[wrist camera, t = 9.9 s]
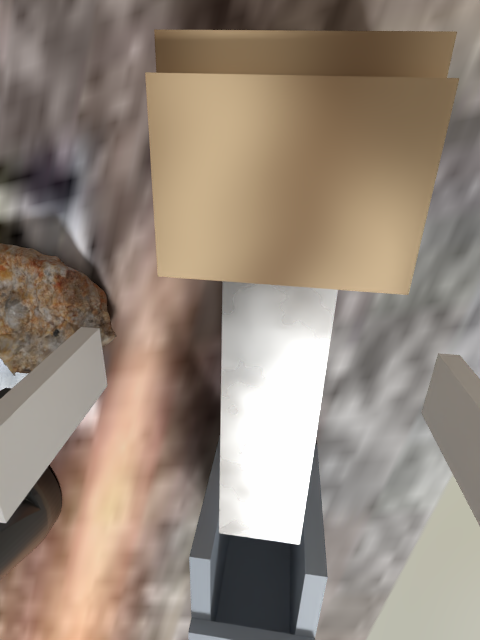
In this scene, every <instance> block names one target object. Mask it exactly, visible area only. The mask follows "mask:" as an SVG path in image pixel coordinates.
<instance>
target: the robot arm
mask: <svg viewBox="0 0 480 640" xmlns="http://www.w3.org/2000/svg"><path fill="white" fill-rule="evenodd" d="M106 387H107V380H106V372H105V365H104V358H103V350H102V343H101V336H100V328H88V327H81V328H79V329H78V330H77V331H76V332H75V333H74V334H73V335H72V336H70V337H69V338H68V339H67V340H66V341H65V342H64V343H63V344H61V345H60V346H59V347H58V348H57V349H56V350H55V351H54V352H53V353H51V354H50V355H49V356H48V357H47V358H46V359H45V360H44V361H42V362H41V363H40V364H39V365H38V366H37V367H36V368H35V369H33V370H32V371H31V372H30V373H29V374H28V375H27V376H26V377H24V378H23V379H22V380H21V381H20V382H19V383H18V384H17V385H16V386H14V387H13V388H12V389H11V388H5V389H3V390H1V391H0V580H1V579H2V578H3V577H4V576H5V575H6V574H7V573H8V572H9V571H11V570H12V569H13V568H14V567H15V566H16V565H17V564H18V563H19V562H21V561H22V560H23V559H24V558H25V557H26V556H27V555H28V554H29V553H31V552H32V551H33V550H34V549H35V548H36V547H37V546H38V545H39V544H40V543H41V542H42V541H43V540H44V539H45V537H46V536H47V534H48V533H49V531H50V530H51V528H52V526H53V525H54V523H55V522H56V520H57V519H58V517H59V515H60V512H61V508H62V497H61V491H60V488H59V485H58V483H57V481H56V479H55V477H54V475H53V474H52V472H51V471H50V469H49V468H48V466H49V464H50V463H51V462H52V460H53V459H54V458H55V456H56V455H57V454H58V452H59V451H60V449H61V448H62V447H63V445H64V444H65V443H66V441H67V440H68V439H69V437H70V436H71V434H72V433H73V432H74V430H75V429H76V428H77V426H78V425H79V424H80V422H81V421H82V420H83V418H84V417H85V415H86V414H87V413H88V411H89V410H90V409H91V407H92V406H93V405H94V403H95V402H96V401H97V399H98V398H99V396H100V395H101V394H102V392H103V391H104V390H105V388H106ZM422 415H423V417H424V419H425V421H426V423H427V425H428V427H429V429H430V431H431V433H432V435H433V437H434V438H435V440H436V442H437V444H438V446H439V448H440V450H441V452H442V454H443V456H444V458H445V460H446V462H447V464H448V465H449V467H450V469H451V471H452V473H453V475H454V477H455V479H456V481H457V483H458V485H459V487H460V489H461V490H462V492H463V494H464V496H465V498H466V500H467V502H468V504H469V506H470V508H471V510H472V512H473V514H474V516H475V517H476V520H477V521H478V523H479V525H480V379H479V378H478V376H477V375H476V374H475V373H474V372H473V371H472V369H471V368H470V367H469V366H468V365H467V363H466V362H465V361H464V360H463V359H462V357H461V356H460V355H450V354H438V356H437V360H436V363H435V367H434V370H433V374H432V378H431V381H430V385H429V388H428V392H427V395H426V399H425V402H424V406H423V409H422Z"/></svg>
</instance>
